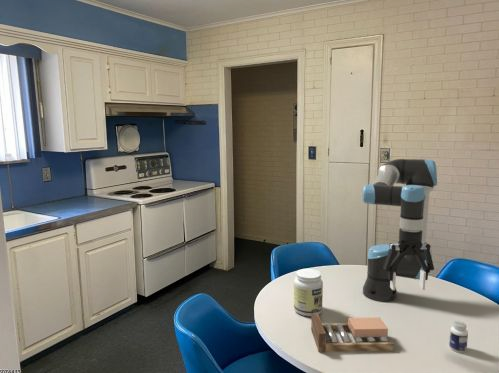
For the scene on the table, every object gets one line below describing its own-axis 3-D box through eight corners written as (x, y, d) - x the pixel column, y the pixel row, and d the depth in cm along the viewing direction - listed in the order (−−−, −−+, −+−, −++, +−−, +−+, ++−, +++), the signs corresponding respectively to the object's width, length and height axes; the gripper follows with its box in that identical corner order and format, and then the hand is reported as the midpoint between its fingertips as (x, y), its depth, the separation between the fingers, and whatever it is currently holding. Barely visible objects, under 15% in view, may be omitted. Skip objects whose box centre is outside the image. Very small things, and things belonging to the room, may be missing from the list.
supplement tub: (315, 320, 155) (316, 281, 152) (288, 312, 161) (289, 275, 158) (326, 308, 165) (327, 271, 162) (300, 301, 171) (301, 265, 168)
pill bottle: (445, 344, 137) (447, 319, 135) (460, 344, 137) (462, 318, 135) (455, 353, 131) (457, 327, 130) (469, 352, 132) (472, 326, 130)
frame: (378, 328, 148) (379, 311, 147) (393, 350, 134) (394, 332, 132) (311, 330, 147) (311, 313, 146) (318, 352, 133) (319, 333, 132)
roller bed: (324, 329, 146) (324, 323, 145) (377, 328, 146) (377, 322, 145) (330, 346, 135) (331, 339, 134) (387, 344, 135) (388, 338, 135)
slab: (379, 324, 144) (379, 317, 144) (387, 336, 136) (387, 328, 136) (348, 325, 144) (348, 318, 143) (354, 337, 136) (354, 329, 135)
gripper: (437, 225, 138) (433, 283, 141) (375, 226, 137) (372, 284, 141) (448, 231, 130) (443, 292, 134) (382, 232, 130) (379, 293, 134)
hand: (407, 288), depth 138 cm, fingers open, 10 cm apart
